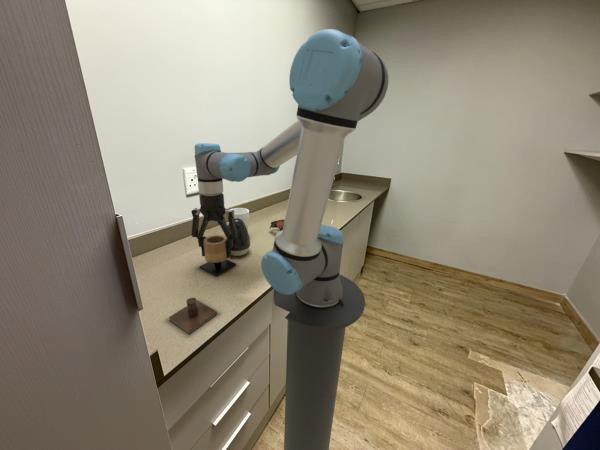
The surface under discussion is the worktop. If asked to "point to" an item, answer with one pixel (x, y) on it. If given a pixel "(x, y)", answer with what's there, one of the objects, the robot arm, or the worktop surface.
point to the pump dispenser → (240, 239)
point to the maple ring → (215, 248)
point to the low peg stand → (192, 315)
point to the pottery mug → (277, 224)
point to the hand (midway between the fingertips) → (216, 255)
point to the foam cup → (242, 215)
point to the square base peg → (217, 266)
